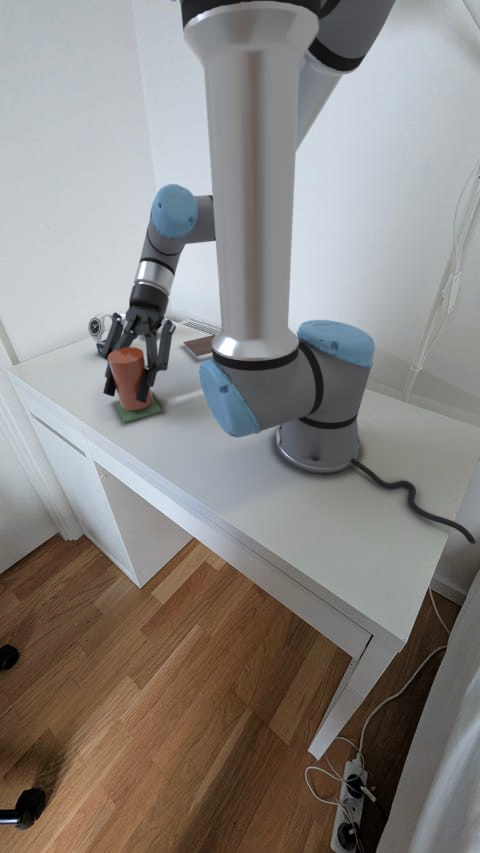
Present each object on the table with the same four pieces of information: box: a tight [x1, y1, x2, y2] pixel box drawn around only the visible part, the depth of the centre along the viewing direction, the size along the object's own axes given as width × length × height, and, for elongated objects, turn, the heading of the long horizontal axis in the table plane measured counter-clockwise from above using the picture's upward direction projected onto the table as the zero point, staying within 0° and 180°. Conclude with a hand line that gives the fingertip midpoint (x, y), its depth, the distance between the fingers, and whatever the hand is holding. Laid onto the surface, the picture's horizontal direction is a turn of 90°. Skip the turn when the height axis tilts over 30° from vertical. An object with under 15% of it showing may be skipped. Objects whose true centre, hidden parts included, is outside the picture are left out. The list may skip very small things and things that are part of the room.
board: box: [182, 334, 216, 357], centre depth 95 cm, size 10×10×2 cm
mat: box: [115, 395, 162, 424], centre depth 74 cm, size 8×8×1 cm
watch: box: [87, 312, 113, 356], centre depth 91 cm, size 6×8×11 cm
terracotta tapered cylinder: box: [107, 346, 154, 410], centre depth 70 cm, size 7×7×11 cm
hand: (124, 398), depth 68 cm, fingers closed on terracotta tapered cylinder, 7 cm apart
